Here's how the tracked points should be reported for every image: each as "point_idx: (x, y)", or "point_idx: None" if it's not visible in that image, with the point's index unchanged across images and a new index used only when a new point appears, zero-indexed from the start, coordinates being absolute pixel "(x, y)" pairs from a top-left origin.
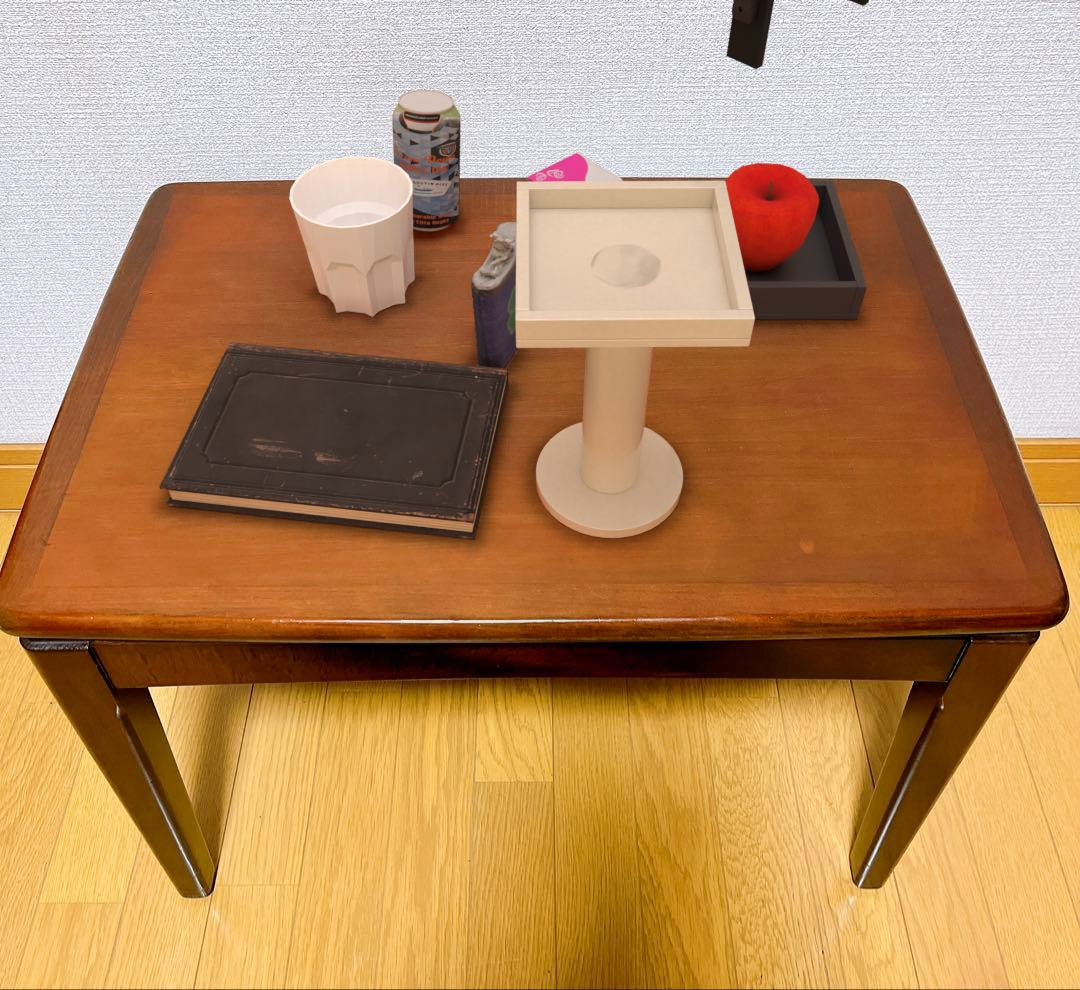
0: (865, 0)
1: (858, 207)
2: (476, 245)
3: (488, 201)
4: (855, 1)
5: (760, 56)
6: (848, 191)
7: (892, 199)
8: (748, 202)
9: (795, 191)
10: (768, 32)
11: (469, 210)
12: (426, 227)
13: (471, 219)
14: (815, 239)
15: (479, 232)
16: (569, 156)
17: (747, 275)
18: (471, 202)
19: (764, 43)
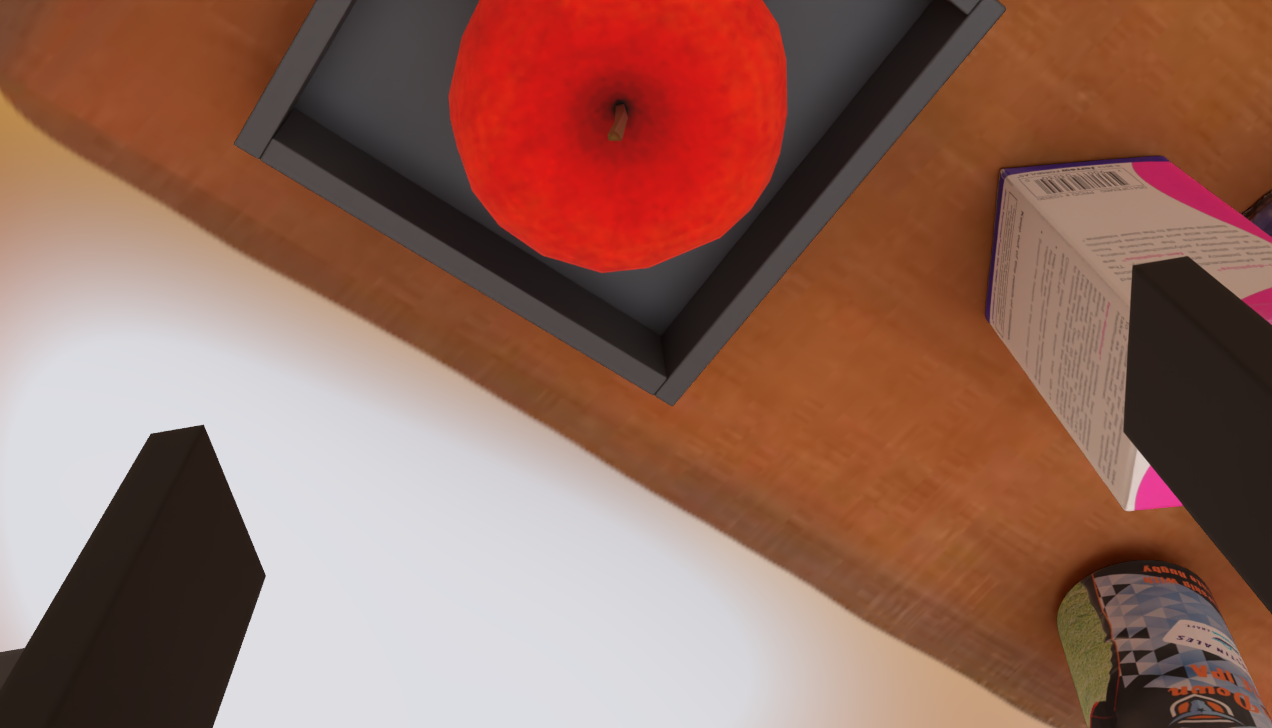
0: (185, 440)
1: (143, 68)
2: None
3: (966, 593)
4: (218, 472)
5: (1199, 286)
6: (120, 146)
7: (9, 35)
8: (750, 101)
9: (560, 62)
10: (1224, 349)
11: (1023, 588)
12: (1191, 573)
13: (1044, 562)
14: (394, 13)
15: (1066, 518)
16: (1163, 506)
17: None
18: (998, 607)
19: (1218, 318)
